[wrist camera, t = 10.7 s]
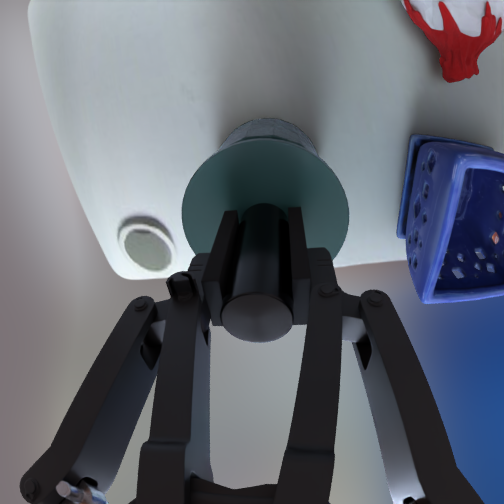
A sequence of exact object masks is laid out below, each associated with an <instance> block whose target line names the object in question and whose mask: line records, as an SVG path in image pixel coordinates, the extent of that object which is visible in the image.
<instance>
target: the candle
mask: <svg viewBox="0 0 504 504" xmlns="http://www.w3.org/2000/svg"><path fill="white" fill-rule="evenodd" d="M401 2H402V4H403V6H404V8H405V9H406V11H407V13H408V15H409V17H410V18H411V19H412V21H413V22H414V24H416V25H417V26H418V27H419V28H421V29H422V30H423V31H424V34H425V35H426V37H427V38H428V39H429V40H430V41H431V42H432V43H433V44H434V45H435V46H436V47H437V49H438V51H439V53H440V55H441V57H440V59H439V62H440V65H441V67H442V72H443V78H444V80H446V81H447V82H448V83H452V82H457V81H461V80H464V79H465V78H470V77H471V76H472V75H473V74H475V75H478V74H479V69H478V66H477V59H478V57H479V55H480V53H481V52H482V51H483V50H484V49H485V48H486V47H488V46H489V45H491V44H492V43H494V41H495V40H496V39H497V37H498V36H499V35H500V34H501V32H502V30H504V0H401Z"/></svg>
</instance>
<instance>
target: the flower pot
mask: <svg viewBox="0 0 504 504" xmlns="http://www.w3.org/2000/svg"><path fill="white" fill-rule="evenodd" d="M502 186H504V154H503V153H499V152H496V151H494V150H493V148H491V147H488V146H484V145H479V144H475V143H470V142H466V141H461V140H455V139H449V138H443V137H436V136H428V135H411V136H410V140H409V148H408V156H407V164H406V171H405V178H404V185H403V192H402V198H401V205H400V211H399V218H398V224H397V237H398V238H400V239H406V253H407V260H408V266H409V270H410V274H411V277H412V280H413V283H414V286H415V289H416V292H417V294H418V296H419V298H420V300H421V301H422V302H423V303H426V304H432V303H446V302H460V301H471V300H478V299H484V298H490V297H497V296H501V295H504V191H503V188H502ZM499 213H501V215H502V217H501V218H500V216H499ZM495 232H496V233H497V235H498V237H499V241H498V242H497V243H496V244H495V243H494V241H493V239H492V236H493V235H494V233H495ZM475 252H481V253H482V255H483V256H484V258H485V259H479V258H478V256H477V255H476V253H475ZM495 255H497V258H496V257H495ZM458 258H461V259H463V262H461V261H459V260H458ZM443 263H444V265H443V266H442V264H443ZM474 266H476V267H477V268H478V269H479V270H478V269H476V268H474ZM487 267H490V268H492V269H493V270H494V272H488V271H487ZM456 270H457V271H459V272H460V273H461V274H462V276H463V278H459V279H458V278H456V276H455V275H454V273H453V272H452V271H456Z"/></svg>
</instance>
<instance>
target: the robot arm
mask: <svg viewBox="0 0 504 504" xmlns="http://www.w3.org/2000/svg"><path fill="white" fill-rule="evenodd" d="M288 220H289V237H290V255H291V275H292V298H293V306H294V322H293V325H305V324H307V329H306V336H305V344H304V351H303V358H302V364H301V371H300V377H299V383H298V389H297V395H296V401H295V407H294V412H293V418H292V423H291V428H290V433H289V439H288V443H287V447H286V450H285V453H284V457H283V461H282V466H281V470H280V475H279V479H278V483H277V484H265V485H259V486H254V487H248V488H241V489H230V488H227V487H224V486H221V485H218V484H215V483H214V482H213V473H212V469H211V465H210V428H209V427H210V425H209V424H210V422H209V421H210V420H209V419H210V417H209V416H210V411H209V410H210V408H209V407H210V403H209V402H210V401H209V400H210V342H211V332H210V329H209V323H210V319H211V321H212V325H213V326H223V325H222V322H221V319H220V311H221V306H222V302H223V297H224V293H225V288H226V283H227V279H228V274H229V270H230V265H231V261H232V256H233V252H234V248H235V243H236V239H237V234H238V230H239V220H238V212H237V210H230V211H224V214H223V217H222V220H221V223H220V226H219V228H218V231H217V234H216V237H215V240H214V243H213V246H212V249H211V252H210V253H198V254H197V255H196V256H195V257H194V258H193V259H192V261H191V263H190V266H189V268H188V271H182V272H177V273H175V274H173V275H171V276H170V277H169V278H168V279H167V281H166V284H167V287H168V290H169V293H170V295H171V298H170V299H168V300H164V301H160V302H156V303H155V302H154V300H153V299H152V298H151V297H148V296H141V297H138V298H136V299H134V300H133V301H131V303H130V304H129V305H128V307H127V308H126V310H125V311H124V313H123V314H122V316H121V318H120V319H119V321H118V323H117V324H116V326H115V327H114V329H113V331H112V333H111V334H110V336H109V337H108V339H107V341H106V343H105V344H104V346H103V348H102V349H101V351H100V353H99V355H98V356H97V358H96V360H95V361H94V363H93V365H92V367H91V369H90V370H89V372H88V374H87V376H86V378H85V380H84V381H83V383H82V385H81V387H80V389H79V391H78V392H77V394H76V396H75V398H74V400H73V402H72V404H71V406H70V408H69V409H68V412H67V413H66V415H65V417H64V419H63V421H62V423H61V425H60V427H59V430H58V432H57V434H56V436H55V438H54V440H53V442H52V444H51V447H50V448H49V449H48V450H47V451H46V452H45V453H44V454H43V455H42V456H41V457H40V458H39V459H38V460H37V461H36V462H35V463H34V464H33V466H32V467H31V468H30V469H29V470H28V471H27V472H26V473H25V474H24V475H23V477H22V478H21V481H20V492H21V494H22V496H23V498H24V499H25V500H26V501H27V502H29V503H31V504H109V503H108V501H107V500H106V497H105V494H106V492H107V491H108V490H109V488H110V486H111V485H112V483H113V481H114V479H115V477H116V475H117V472H118V469H119V467H120V465H121V462H122V459H123V457H124V454H125V451H126V449H127V446H128V444H129V441H130V439H131V436H132V434H133V431H134V429H135V426H136V424H137V421H138V419H139V417H140V414H141V412H142V409H143V407H144V404H145V402H146V400H147V397H148V394H149V392H150V390H151V388H152V385H153V383H154V380H155V378H156V376H157V380H156V387H155V394H154V402H153V410H152V418H151V427H150V436H149V439H148V441H147V442H145V443H143V445H142V447H141V451H140V458H139V469H138V481H137V495H136V498H135V499H134V500H133V501H131V502H130V503H129V504H330V503H329V501H328V500H329V496H330V490H331V483H332V476H333V469H334V460H335V454H334V444H335V436H336V426H337V415H338V403H339V390H340V373H341V350H342V348H341V347H342V340H346V341H351V342H352V344H353V348H354V351H355V354H356V358H357V361H358V365H359V368H360V372H361V375H362V379H363V382H364V386H365V389H366V393H367V397H368V400H369V404H370V408H371V412H372V416H373V419H374V423H375V428H376V432H377V436H378V440H379V445H380V449H381V454H382V458H383V463H384V467H385V472H386V477H387V482H388V487H389V490H390V494H391V497H392V500H393V502H394V504H484V503H483V501H482V500H481V498H480V497H479V495H478V494H477V493H476V491H475V490H474V489H473V487H472V486H471V485H470V483H469V482H468V481H467V480H466V478H465V477H464V476H463V474H462V473H461V472H460V470H459V469H458V468H457V466H456V463H455V459H454V455H453V452H452V449H451V446H450V442H449V440H448V436H447V433H446V430H445V427H444V424H443V421H442V419H441V416H440V413H439V410H438V407H437V405H436V402H435V399H434V397H433V395H432V392H431V389H430V386H429V384H428V382H427V379H426V377H425V374H424V372H423V370H422V367H421V365H420V362H419V360H418V358H417V355H416V353H415V351H414V348H413V346H412V344H411V342H410V340H409V337H408V335H407V333H406V331H405V329H404V326H403V324H402V322H401V320H400V318H399V316H398V314H397V312H396V310H395V308H394V306H393V304H392V302H391V300H390V298H389V297H388V295H387V294H385V293H384V292H382V291H379V290H368V291H365V292H364V293H363V294H362V295H361V297H359V296H353V295H349V294H347V293H344V292H343V291H342V290H341V288H340V287H339V286H338V284H337V280H336V275H335V271H334V267H333V262H332V258H331V254H330V252H329V251H328V250H327V249H326V248H325V247H319V248H307V244H306V237H305V230H304V223H303V217H302V211H301V207H288Z"/></svg>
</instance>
